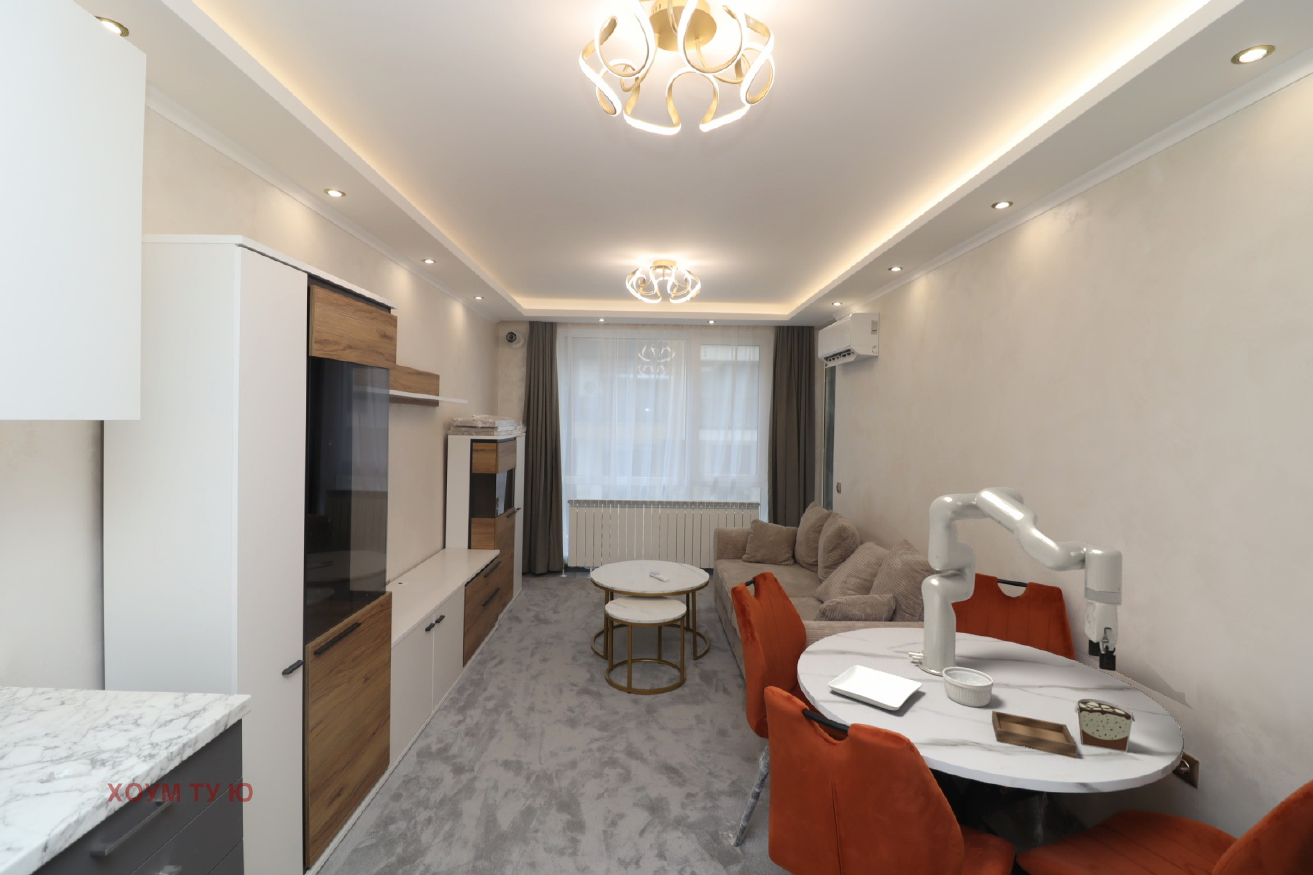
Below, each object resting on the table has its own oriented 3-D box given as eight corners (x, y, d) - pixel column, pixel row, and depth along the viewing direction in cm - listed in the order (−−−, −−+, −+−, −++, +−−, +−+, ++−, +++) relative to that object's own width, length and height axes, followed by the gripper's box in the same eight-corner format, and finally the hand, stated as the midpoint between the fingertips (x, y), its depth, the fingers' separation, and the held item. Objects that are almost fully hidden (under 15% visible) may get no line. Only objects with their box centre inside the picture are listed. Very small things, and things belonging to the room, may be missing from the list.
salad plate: (825, 694, 169) (825, 683, 169) (855, 673, 185) (855, 662, 185) (897, 719, 155) (898, 707, 155) (923, 694, 171) (923, 683, 171)
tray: (996, 741, 144) (997, 729, 144) (991, 721, 154) (992, 710, 154) (1076, 758, 137) (1076, 745, 137) (1065, 736, 147) (1065, 724, 147)
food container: (1123, 741, 145) (1123, 702, 145) (1134, 753, 139) (1135, 713, 139) (1066, 732, 149) (1067, 694, 149) (1075, 744, 143) (1076, 704, 143)
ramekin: (932, 692, 171) (932, 670, 171) (962, 686, 176) (963, 663, 176) (971, 713, 159) (972, 688, 159) (1003, 705, 164) (1003, 681, 164)
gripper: (1076, 586, 154) (1075, 648, 154) (1094, 602, 138) (1092, 672, 138) (1110, 589, 150) (1109, 653, 151) (1132, 607, 135) (1131, 678, 135)
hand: (1101, 662), depth 144 cm, fingers open, 9 cm apart
